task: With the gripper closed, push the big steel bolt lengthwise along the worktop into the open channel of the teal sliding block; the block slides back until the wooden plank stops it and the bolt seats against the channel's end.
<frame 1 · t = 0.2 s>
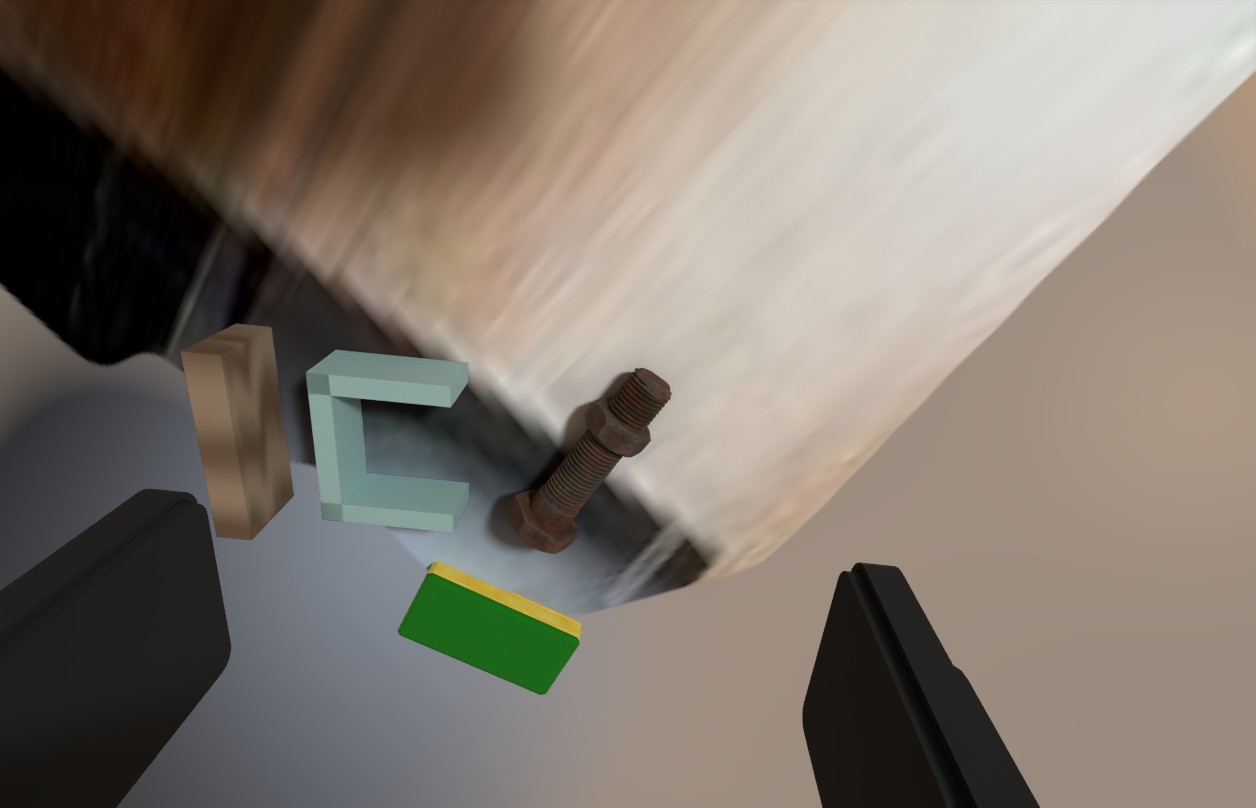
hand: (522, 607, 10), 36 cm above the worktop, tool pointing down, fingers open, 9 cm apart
dish sponge: (494, 617, 58), on the worktop
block: (394, 441, 48), point 2 cm above the worktop, slide at 0.0 cm
bolt: (597, 442, 50), on the worktop
wooden plank: (266, 414, 50), on the worktop
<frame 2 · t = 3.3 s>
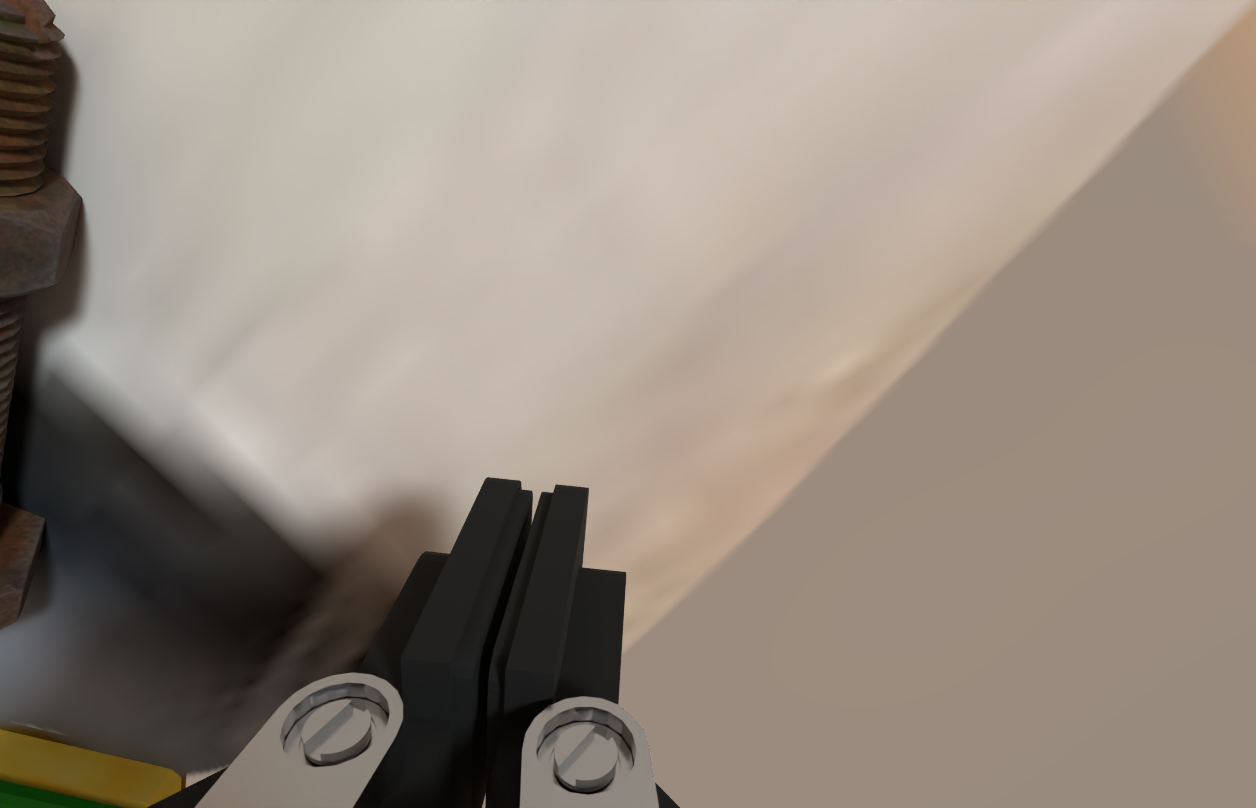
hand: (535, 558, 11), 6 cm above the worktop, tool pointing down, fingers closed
bolt: (25, 306, 16), on the worktop
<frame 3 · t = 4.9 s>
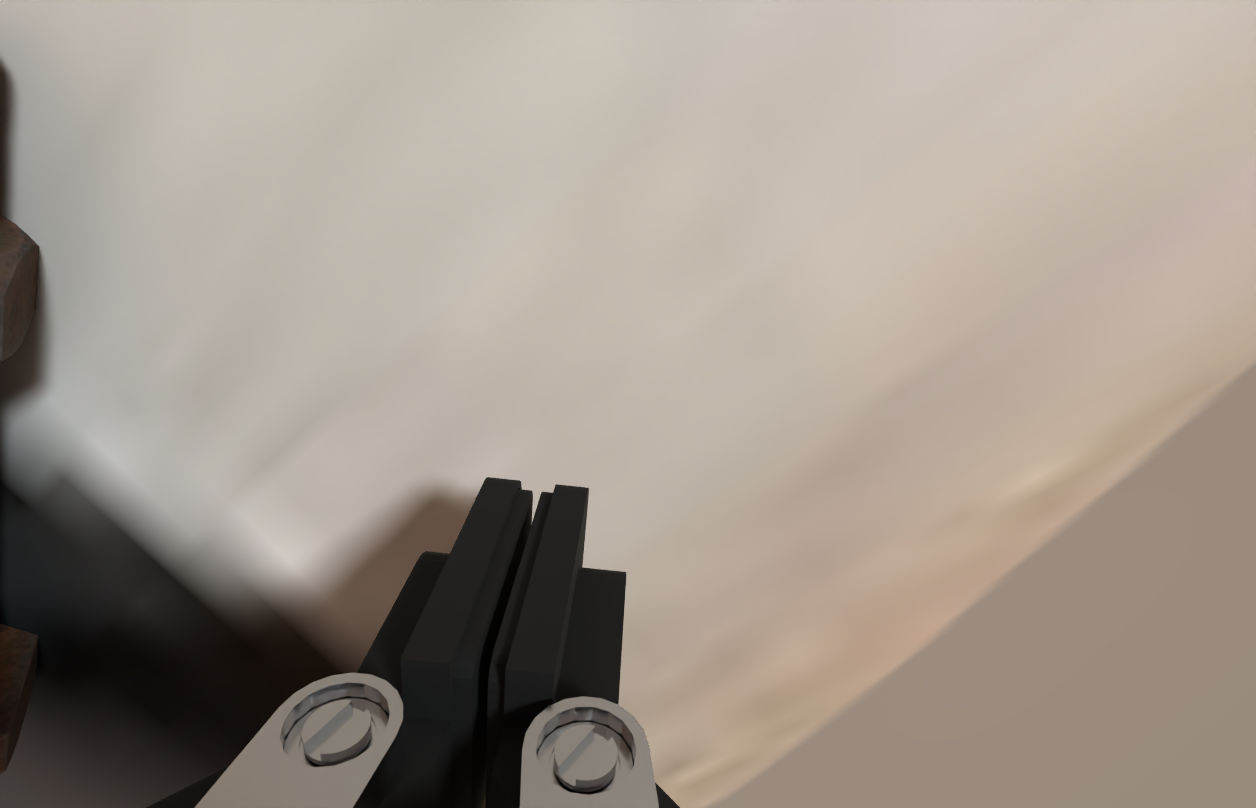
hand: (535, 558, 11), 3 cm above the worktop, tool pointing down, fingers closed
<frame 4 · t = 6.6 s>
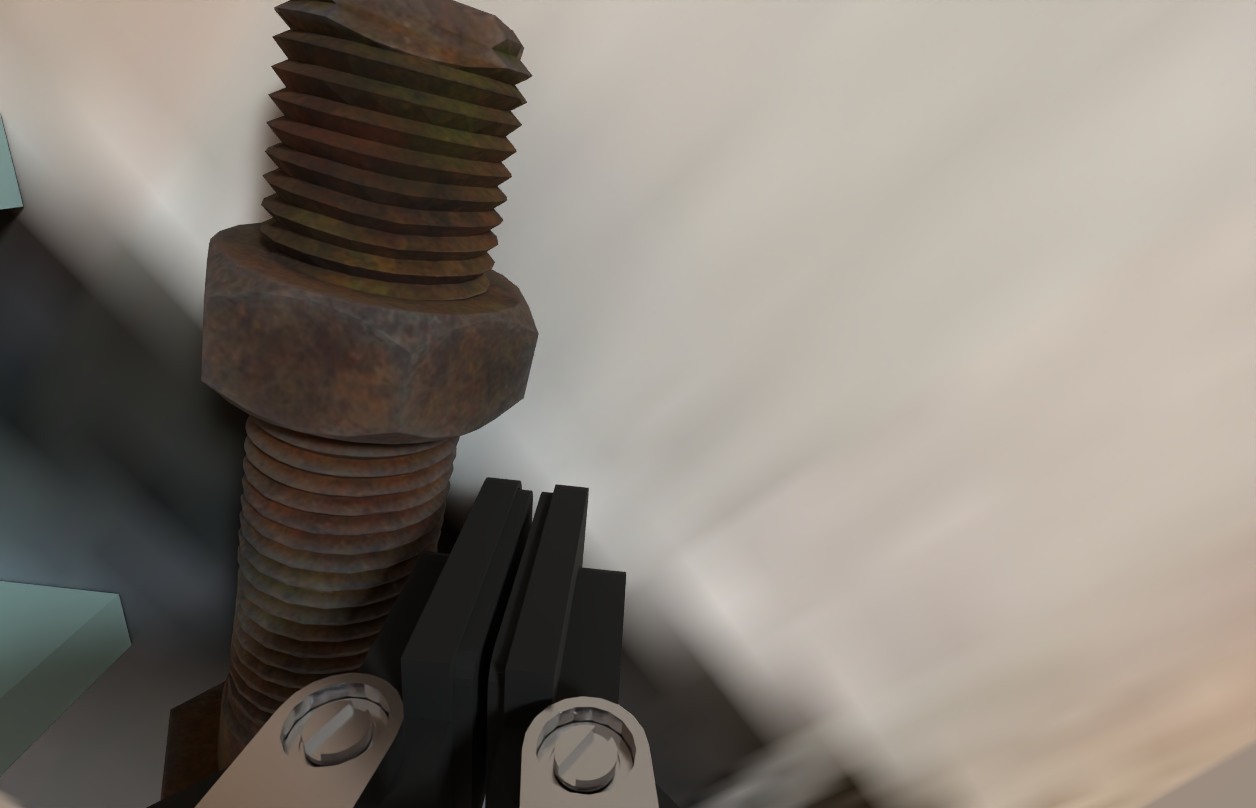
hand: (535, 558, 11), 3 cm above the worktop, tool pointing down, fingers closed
bolt: (408, 430, 14), on the worktop, touching gripper
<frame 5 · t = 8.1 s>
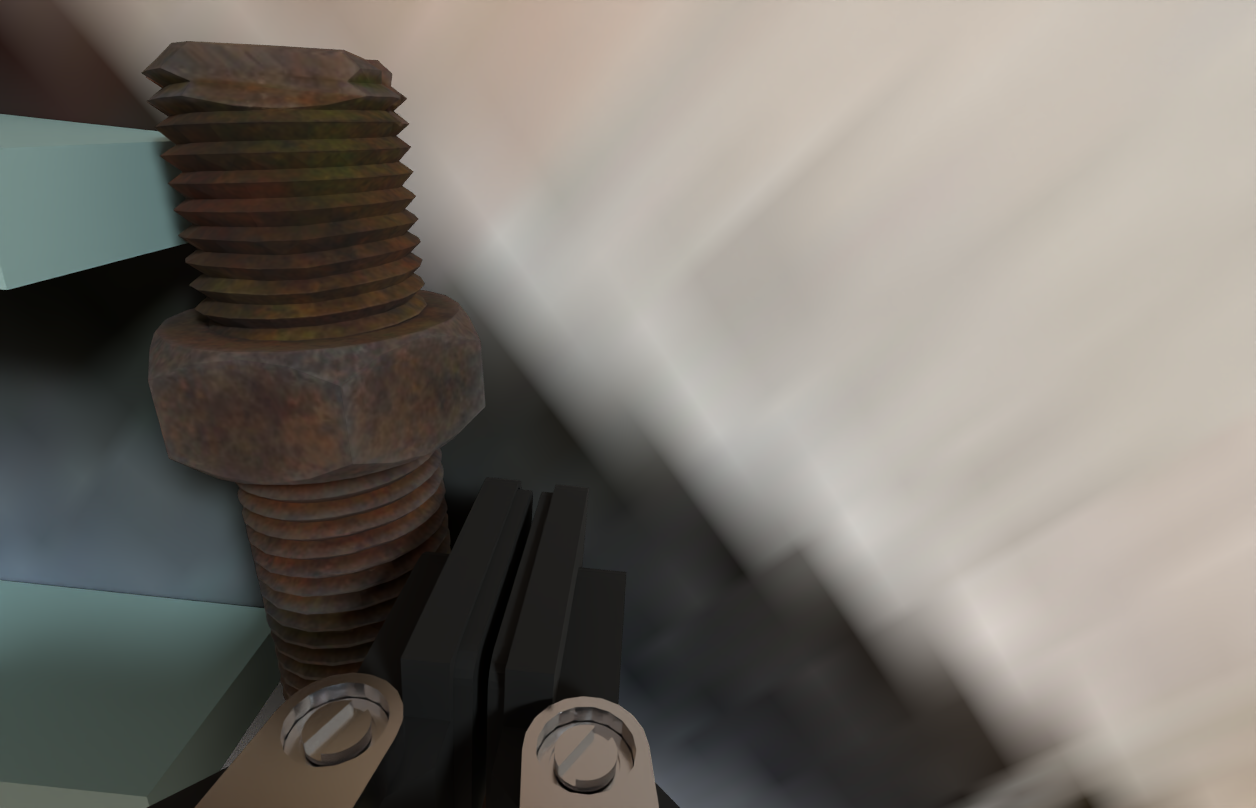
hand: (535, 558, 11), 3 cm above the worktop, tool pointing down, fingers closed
bolt: (410, 465, 14), on the worktop
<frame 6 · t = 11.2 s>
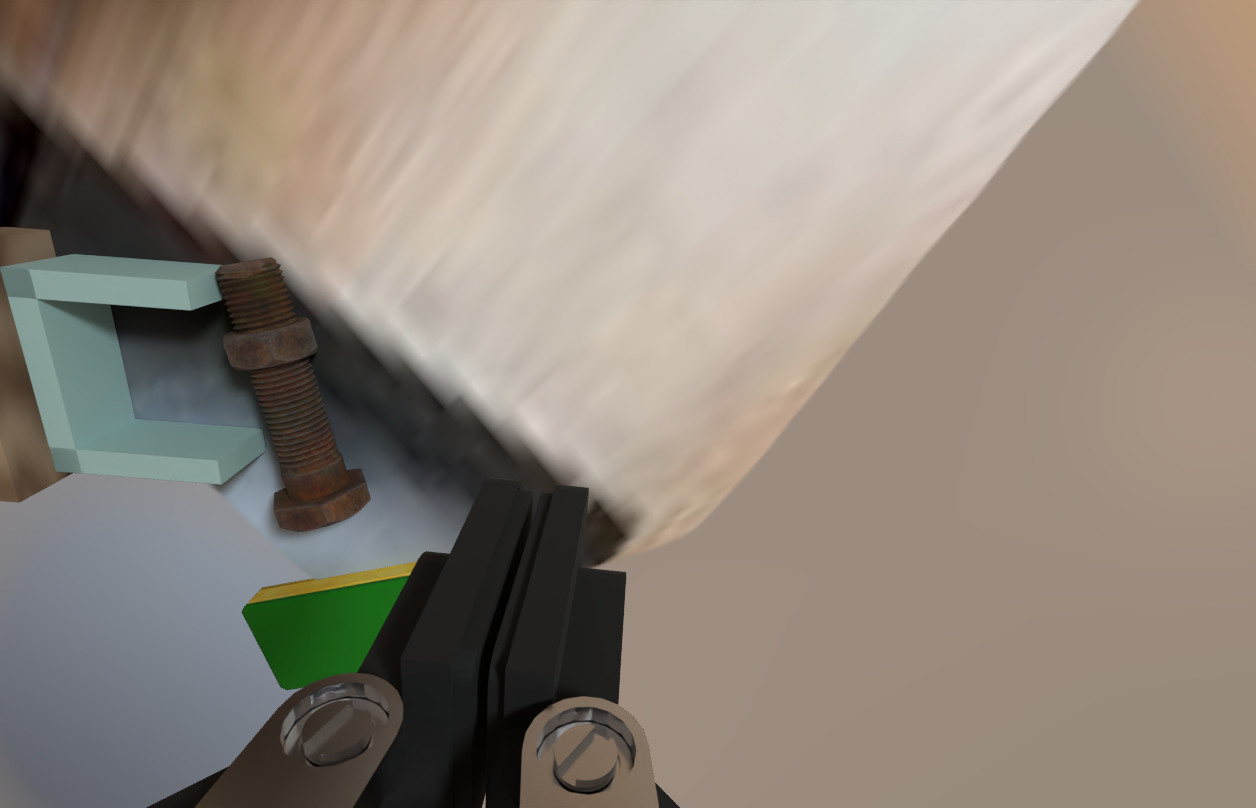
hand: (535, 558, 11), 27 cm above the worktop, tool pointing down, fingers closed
dish sponge: (370, 610, 46), on the worktop
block: (147, 369, 37), point 2 cm above the worktop, slide at 3.4 cm
bolt: (312, 379, 40), on the worktop
wooden plank: (58, 348, 40), on the worktop
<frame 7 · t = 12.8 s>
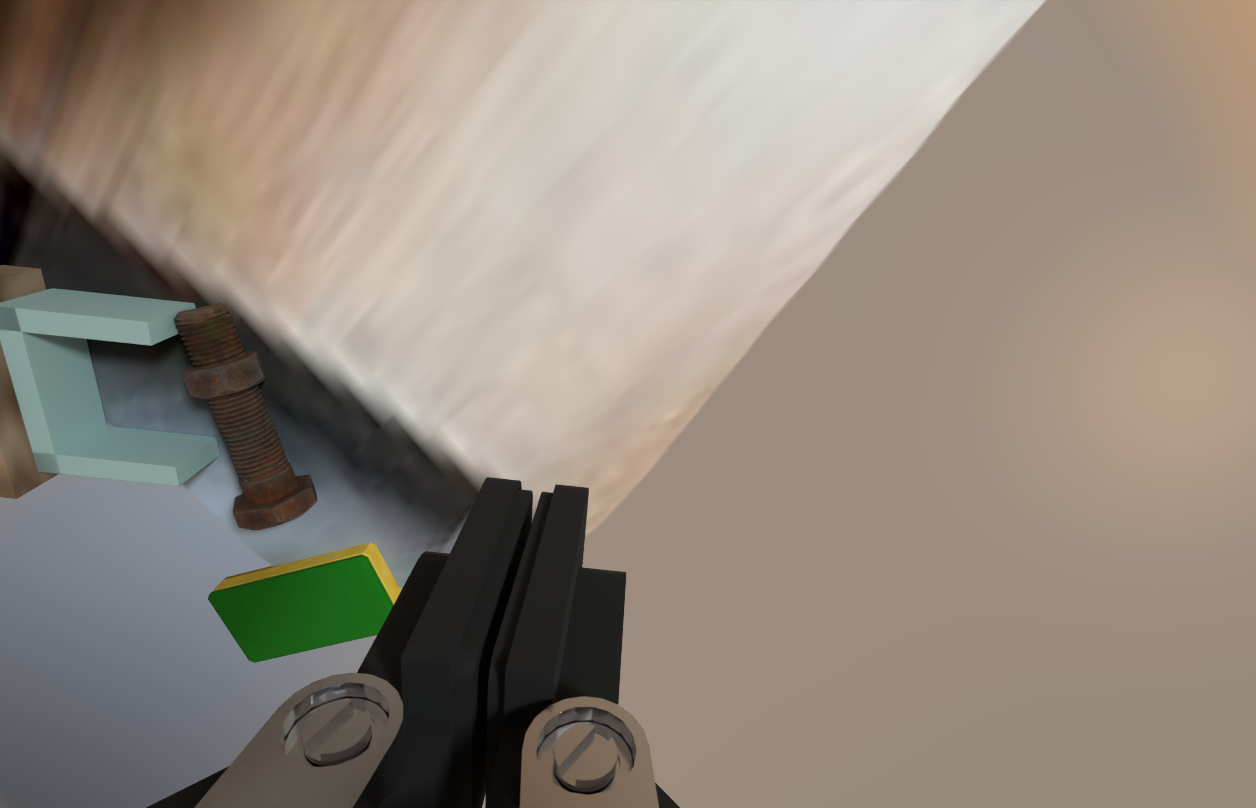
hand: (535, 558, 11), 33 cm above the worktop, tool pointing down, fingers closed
dish sponge: (320, 591, 54), on the worktop
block: (116, 387, 44), point 2 cm above the worktop, slide at 4.0 cm
bolt: (264, 401, 47), on the worktop
wooden plank: (48, 366, 46), on the worktop
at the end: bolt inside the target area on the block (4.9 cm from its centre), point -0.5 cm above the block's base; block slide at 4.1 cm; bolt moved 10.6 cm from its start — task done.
